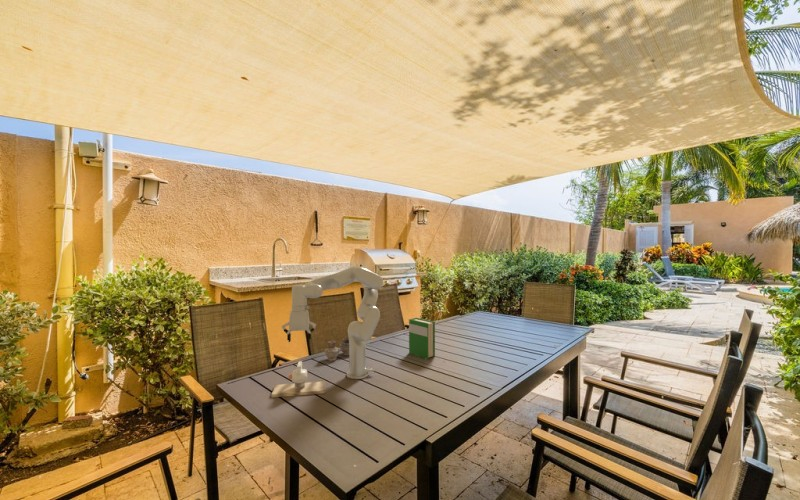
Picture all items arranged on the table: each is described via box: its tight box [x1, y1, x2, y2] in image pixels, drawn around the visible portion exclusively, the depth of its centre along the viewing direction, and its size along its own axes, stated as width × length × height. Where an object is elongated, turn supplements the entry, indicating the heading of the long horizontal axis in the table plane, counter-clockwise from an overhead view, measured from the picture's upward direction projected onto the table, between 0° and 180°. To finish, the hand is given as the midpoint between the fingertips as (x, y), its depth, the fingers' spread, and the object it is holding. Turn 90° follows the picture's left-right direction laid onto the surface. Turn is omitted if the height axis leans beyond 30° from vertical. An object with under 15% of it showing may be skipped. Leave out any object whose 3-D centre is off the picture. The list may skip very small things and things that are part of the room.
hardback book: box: [408, 317, 436, 360], centre depth 235 cm, size 18×7×24 cm, turn 42°
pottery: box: [324, 337, 349, 362], centre depth 232 cm, size 11×25×12 cm, turn 145°
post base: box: [270, 380, 326, 398], centre depth 178 cm, size 26×12×5 cm, turn 101°
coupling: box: [288, 360, 308, 384], centre depth 178 cm, size 9×8×9 cm
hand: (299, 341), depth 178 cm, fingers open, 9 cm apart
